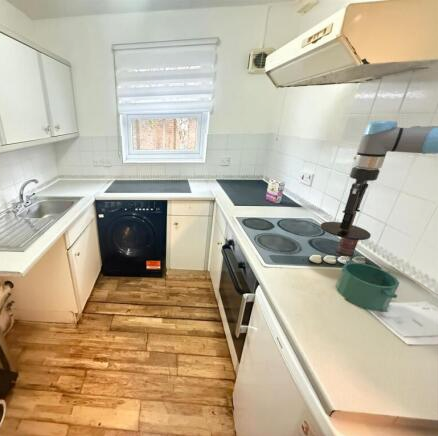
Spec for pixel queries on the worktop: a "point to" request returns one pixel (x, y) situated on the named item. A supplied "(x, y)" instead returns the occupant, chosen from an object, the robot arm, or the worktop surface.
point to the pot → (366, 285)
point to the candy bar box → (275, 191)
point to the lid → (346, 231)
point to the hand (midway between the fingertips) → (345, 227)
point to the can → (346, 247)
